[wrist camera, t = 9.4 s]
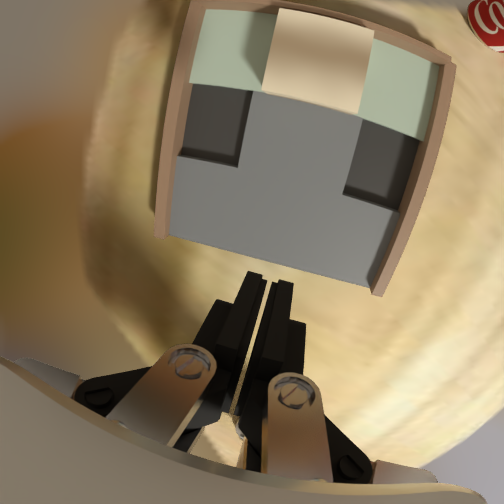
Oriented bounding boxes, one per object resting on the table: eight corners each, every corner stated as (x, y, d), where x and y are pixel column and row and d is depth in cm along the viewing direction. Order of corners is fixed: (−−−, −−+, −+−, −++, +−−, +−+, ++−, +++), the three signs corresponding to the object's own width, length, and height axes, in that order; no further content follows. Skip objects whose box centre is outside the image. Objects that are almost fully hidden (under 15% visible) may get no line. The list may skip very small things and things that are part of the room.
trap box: (377, 284, 24) (384, 304, 21) (163, 228, 25) (148, 241, 23) (445, 68, 15) (462, 63, 12) (200, 8, 16) (185, -4, 14)
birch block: (350, 114, 18) (357, 113, 15) (267, 94, 18) (261, 89, 15) (365, 42, 15) (374, 30, 12) (283, 22, 15) (279, 8, 13)
